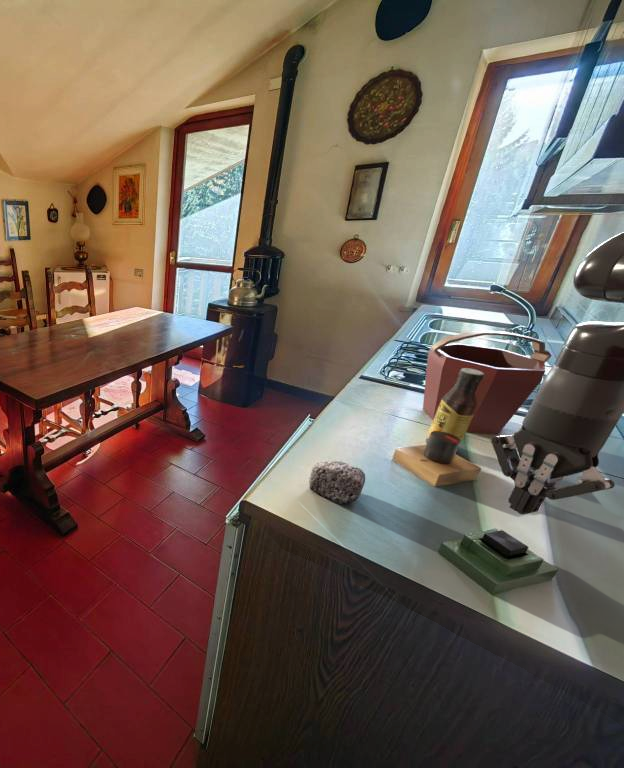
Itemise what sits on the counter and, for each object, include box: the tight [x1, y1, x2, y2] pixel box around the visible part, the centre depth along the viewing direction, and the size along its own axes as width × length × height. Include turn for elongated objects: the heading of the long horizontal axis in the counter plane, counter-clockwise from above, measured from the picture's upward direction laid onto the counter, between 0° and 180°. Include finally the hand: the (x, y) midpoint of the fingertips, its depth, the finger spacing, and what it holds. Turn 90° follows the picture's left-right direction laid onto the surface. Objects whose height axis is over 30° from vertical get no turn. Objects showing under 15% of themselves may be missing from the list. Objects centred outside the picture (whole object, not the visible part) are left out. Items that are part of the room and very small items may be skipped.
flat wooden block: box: [391, 444, 482, 487], centre depth 84 cm, size 11×10×3 cm
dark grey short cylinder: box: [423, 431, 462, 464], centre depth 83 cm, size 5×5×6 cm
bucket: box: [422, 329, 552, 435], centre depth 102 cm, size 24×22×25 cm
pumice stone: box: [308, 460, 366, 505], centre depth 75 cm, size 10×8×10 cm
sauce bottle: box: [425, 368, 484, 448], centre depth 90 cm, size 6×6×20 cm
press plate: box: [481, 529, 530, 559], centre depth 59 cm, size 4×4×2 cm
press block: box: [437, 528, 559, 596], centre depth 60 cm, size 12×8×4 cm, turn 103°
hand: (519, 510), depth 57 cm, fingers closed
